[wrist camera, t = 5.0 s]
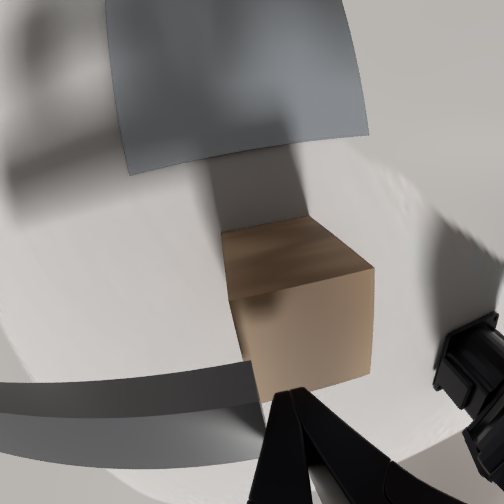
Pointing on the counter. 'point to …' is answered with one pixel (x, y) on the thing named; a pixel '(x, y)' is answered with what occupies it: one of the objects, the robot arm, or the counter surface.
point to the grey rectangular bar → (137, 420)
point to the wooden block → (299, 305)
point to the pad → (230, 76)
